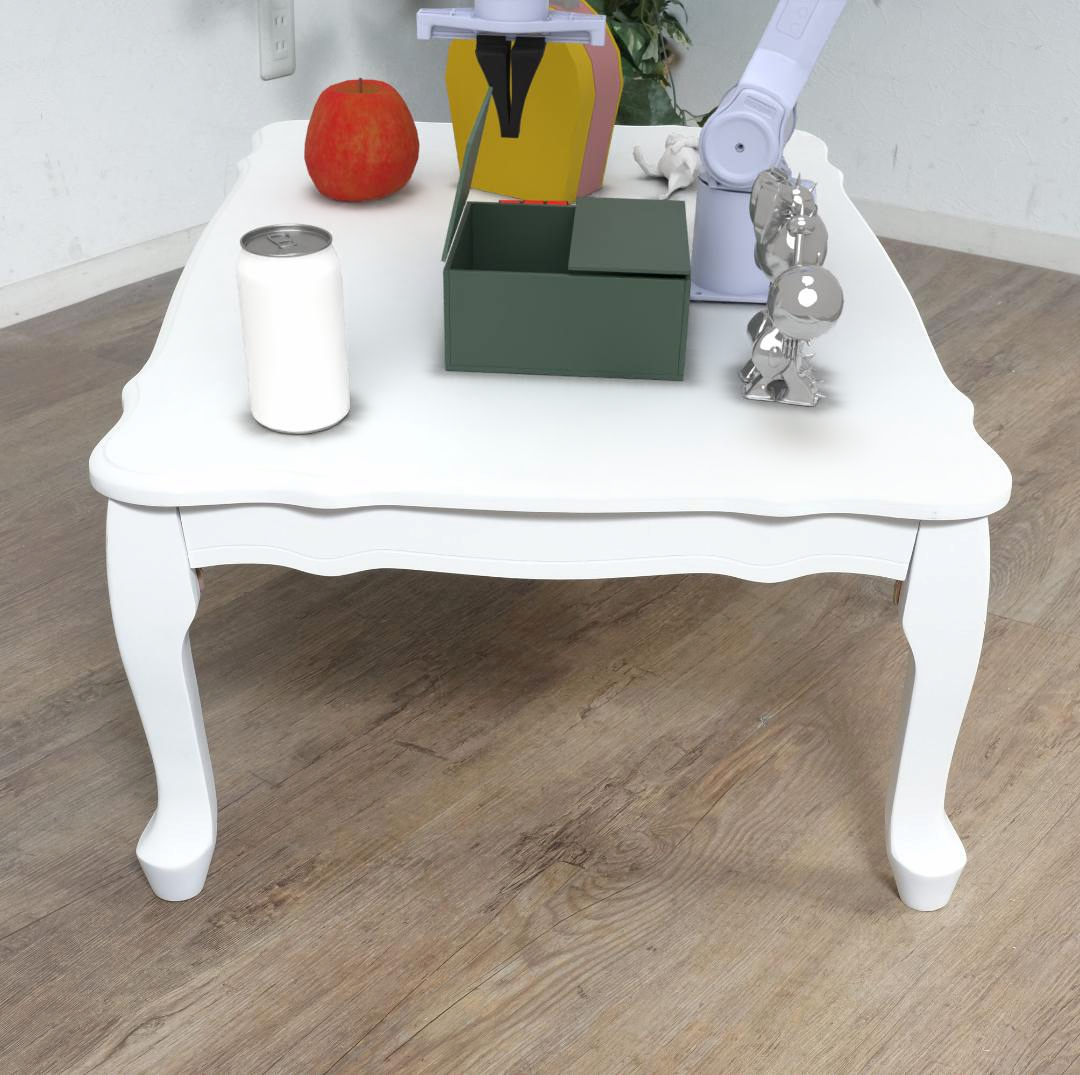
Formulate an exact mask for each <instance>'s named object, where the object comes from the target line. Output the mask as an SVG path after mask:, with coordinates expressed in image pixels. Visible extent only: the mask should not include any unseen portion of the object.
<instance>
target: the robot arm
mask: <svg viewBox="0 0 1080 1075" xmlns="http://www.w3.org/2000/svg"><path fill="white" fill-rule="evenodd" d="M848 2H849V0H779V1H778V3H777V5H776V7H775V9H774V11H773V13H772V15H771V18H770V19H769V21H768V24H767V25H766V28H765V30H764V32H763V34H762V36H761V39H760V40H759V42H758V44H757V47H756V49H755V51H754V53H753V55H752V56H751V58H750V59H749V62H748V64H747V66H746V68H745V70H744V72H743V73H742V75H741V77H740V79H739V80H737V81H736V82H734V83H733V84H732V85H730V87H729V88H728V89H727V90H726V91H725V92H724V94H723V95H722V97H721V99H720V101H719V103H718V106H717V108H716V110H715V111H714V112H713V113H712V114H711V115H710V116H709V117H708V118H707V120H706V121H705V122H704V124H703V126H702V127H701V130H700V134H699V137H698V139H699V154H700V159H701V161H702V165H701V166H700V167H699V171H698V174H697V175H698V176H697V184H696V196H695V197H696V198H695V208H694V209H695V210H694V222H693V232H692V245H691V246H692V247H691V255H690V265H691V292H690V301H706V302H707V301H709V302H710V301H711V302H732V303H753V304H754V303H757V304H758V303H759V304H767V297H768V291H769V285H770V280H768V278H767V277H766V276H765V275H764V273H763V271H762V270H760V269H759V268H758V267H757V265H756V263H755V259H754V246H755V242H756V237H755V232H754V225H753V223H752V221H751V218H750V212H749V202H750V196H751V190H752V186H753V183H754V181H755V179H756V178H757V176H758V173H760V172H761V171H763V170H766V169H768V168H773V167H777V168H779V169H780V170H781V171H783V172H784V173H786V174H787V175H789V177H788V182H789V183H790V184H792V185H793V186H794V185H795V183H796V182H797V179H798V177H793V175H792V172H793V171H792V169H791V168H790V167H789V164H788V163H787V160H786V158H785V156H784V150H785V148H786V147H787V144H788V142H789V141H790V140H791V138H792V136H793V134H794V132H795V130H796V125H797V117H798V116H797V115H798V114H797V113H798V112H797V110H798V109H797V108H798V100H799V98H800V96H801V94H802V92H803V90H804V88H805V86H806V84H807V82H808V80H809V78H810V76H811V74H812V72H813V70H814V68H815V66H816V64H817V62H818V61H819V59H820V56H821V55H822V53H823V51H824V49H825V47H826V45H827V43H828V42H829V40H830V37H831V35H832V33H833V31H834V29H835V27H836V25H837V23H838V22H839V19H840V17H841V16H842V14H843V11H844V9H845V8H846V6H847V4H848ZM415 16H416V39H417V40H421V41H423V40H428V41H430V40H432V39H449V40H451V39H452V40H453V39H476V50H475V54H476V58H477V60H478V63H479V65H480V67H481V69H482V71H483V73H484V75H485V78H486V80H487V83H488V85H489V87H493V90H492V96H493V99H494V103H495V106H496V110H497V114H498V119H499V124H500V132H501V137H502V138H518V137H519V133H520V125H521V117H522V112H523V107H524V103H525V99H526V96H527V93H528V90H529V88H530V85H531V82H532V80H533V77H534V75H535V73H536V71H537V68H538V66H539V64H540V62H541V60H542V57H543V55H544V51H545V48H546V44H547V42H556V43H583V44H590V45H591V46H604V44H605V28H606V23H607V15H605V14H599V15H591V14H580V13H572V12H563V11H554V10H549V0H474V7H453V8H452V7H451V8H449V7H448V8H419V10H418V11H417V12H416V15H415ZM487 31H488V32H487ZM512 41H515V42H514V45H513V47H512V49H511V46H512ZM510 73H511V79H512V100H511V95H510ZM800 179H801V186H804V187H806V188H808V189H809V188H810V187H812V186H813V185H814V184H815V183H816V182H815V181H814V180H811V179H803V178H800ZM812 194H813V195H814V201H815V204H816V205H817V187H816V186H815V188H814V190H813V192H812Z"/></svg>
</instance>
